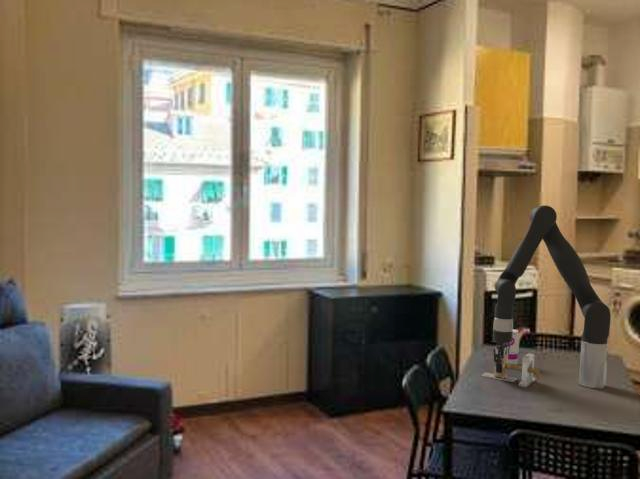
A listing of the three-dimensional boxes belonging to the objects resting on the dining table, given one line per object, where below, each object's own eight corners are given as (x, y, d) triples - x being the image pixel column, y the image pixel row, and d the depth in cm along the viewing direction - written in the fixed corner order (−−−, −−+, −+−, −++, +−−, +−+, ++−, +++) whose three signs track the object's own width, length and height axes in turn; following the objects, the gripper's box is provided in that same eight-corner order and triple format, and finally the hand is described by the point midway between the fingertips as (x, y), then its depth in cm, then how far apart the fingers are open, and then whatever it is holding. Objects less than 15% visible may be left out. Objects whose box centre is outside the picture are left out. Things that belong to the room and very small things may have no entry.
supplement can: (513, 367, 273) (515, 333, 272) (495, 364, 278) (497, 330, 277) (520, 364, 279) (522, 330, 278) (502, 360, 284) (504, 327, 283)
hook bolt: (540, 382, 250) (541, 359, 249) (537, 384, 246) (539, 361, 246) (497, 374, 259) (498, 352, 258) (493, 376, 256) (495, 354, 255)
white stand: (535, 380, 255) (536, 353, 254) (526, 387, 245) (528, 358, 244) (488, 371, 265) (489, 345, 264) (478, 378, 255) (479, 350, 254)
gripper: (506, 333, 247) (504, 377, 248) (517, 327, 259) (515, 369, 260) (487, 330, 251) (485, 373, 252) (499, 325, 263) (497, 366, 264)
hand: (500, 371), depth 256 cm, fingers closed on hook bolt, 4 cm apart
